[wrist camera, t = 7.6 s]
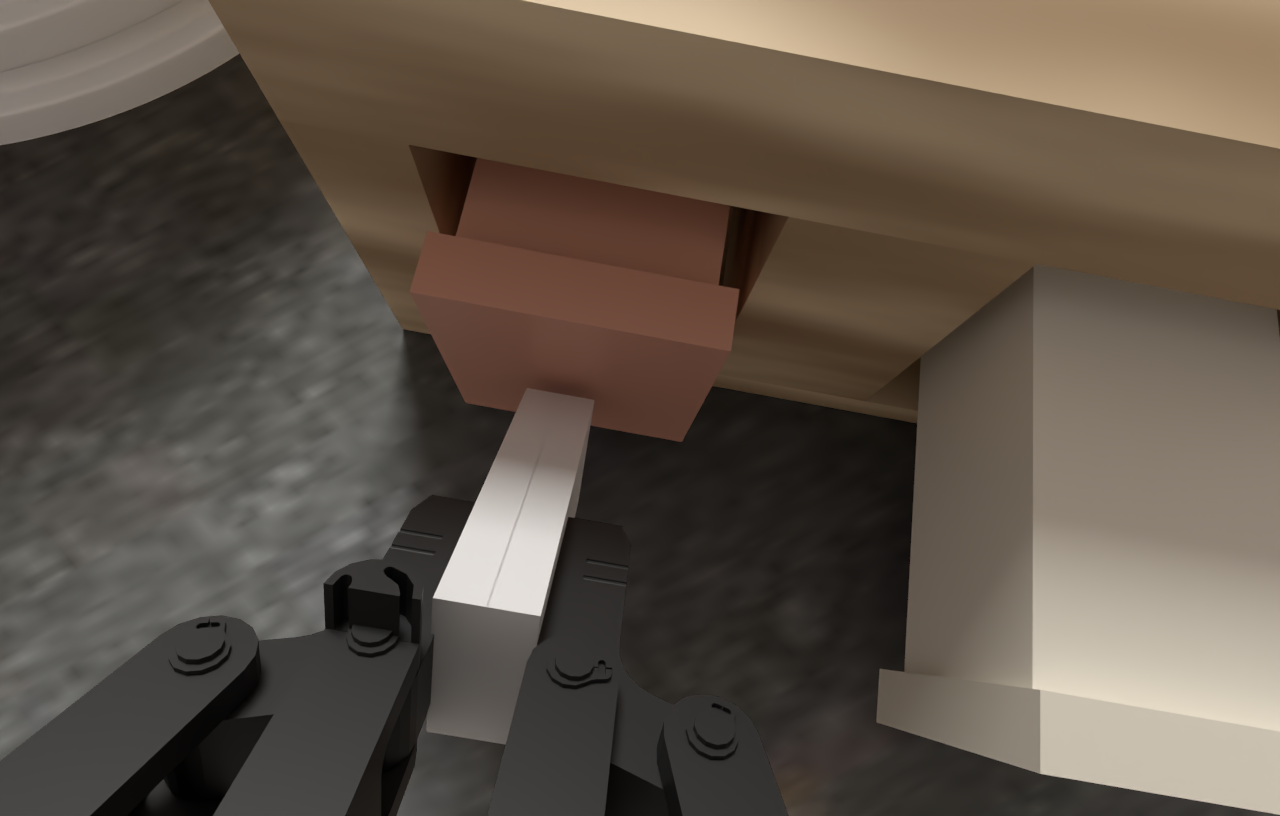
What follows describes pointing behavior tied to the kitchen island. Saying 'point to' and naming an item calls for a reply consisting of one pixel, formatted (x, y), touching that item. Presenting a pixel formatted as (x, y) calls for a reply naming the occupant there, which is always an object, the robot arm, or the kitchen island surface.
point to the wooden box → (812, 148)
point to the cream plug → (1100, 540)
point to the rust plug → (580, 297)
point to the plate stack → (98, 58)
